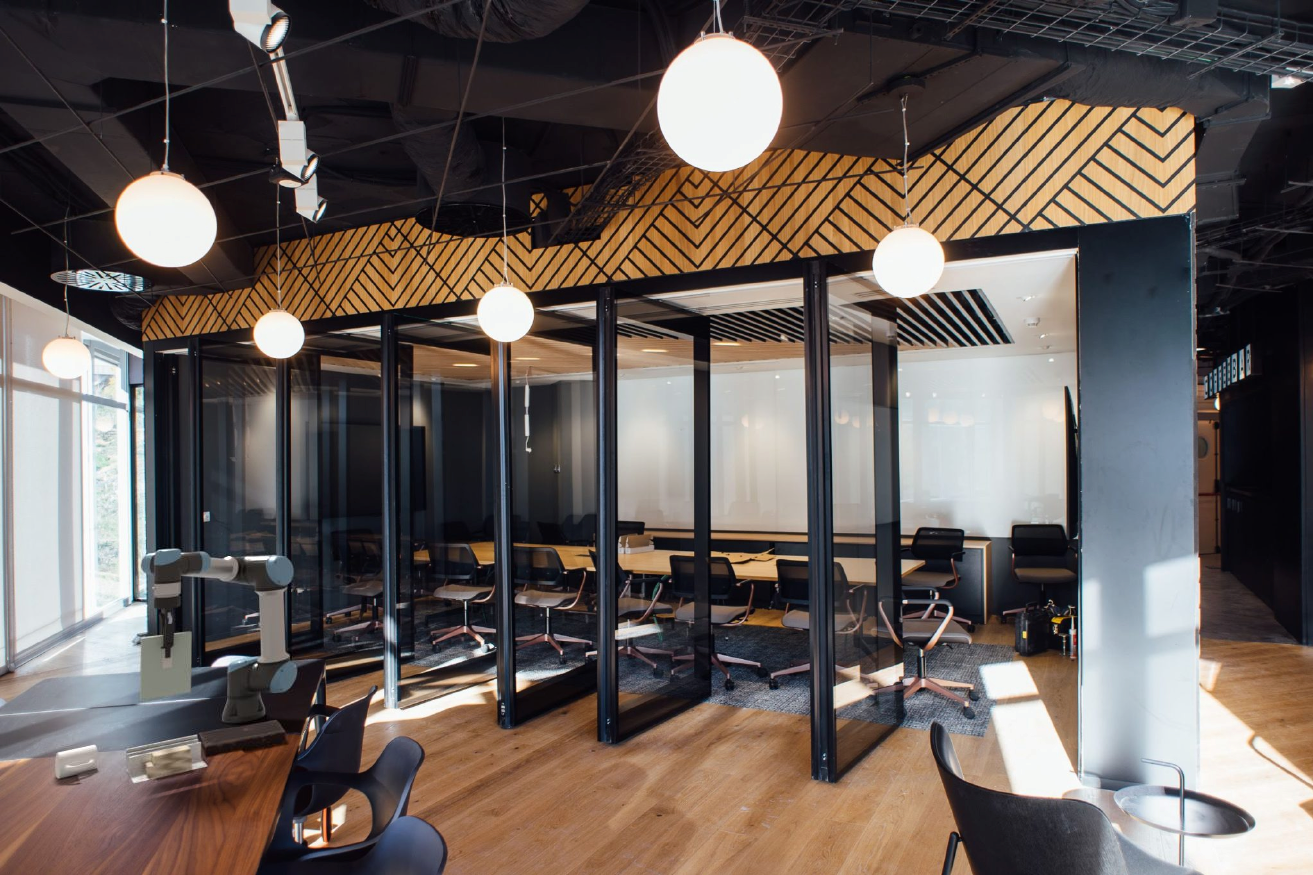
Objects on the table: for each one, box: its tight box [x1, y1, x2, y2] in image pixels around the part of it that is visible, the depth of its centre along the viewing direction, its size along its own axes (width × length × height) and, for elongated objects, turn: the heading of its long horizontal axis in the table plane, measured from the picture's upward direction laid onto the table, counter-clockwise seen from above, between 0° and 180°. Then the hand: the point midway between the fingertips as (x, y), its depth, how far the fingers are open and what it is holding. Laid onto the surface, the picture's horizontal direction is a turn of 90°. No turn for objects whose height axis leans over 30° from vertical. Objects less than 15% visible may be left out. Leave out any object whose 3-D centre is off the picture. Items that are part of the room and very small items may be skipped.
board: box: [139, 631, 193, 702], centre depth 252 cm, size 14×2×20 cm, turn 131°
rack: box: [125, 734, 208, 784], centre depth 246 cm, size 20×18×7 cm
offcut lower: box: [145, 756, 192, 777], centre depth 244 cm, size 12×5×3 cm, turn 131°
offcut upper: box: [151, 745, 190, 766], centre depth 244 cm, size 10×5×3 cm, turn 131°
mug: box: [54, 744, 99, 780], centre depth 244 cm, size 12×10×8 cm
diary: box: [198, 719, 286, 757], centre depth 270 cm, size 19×25×5 cm
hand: (166, 666), depth 252 cm, fingers closed on board, 2 cm apart
